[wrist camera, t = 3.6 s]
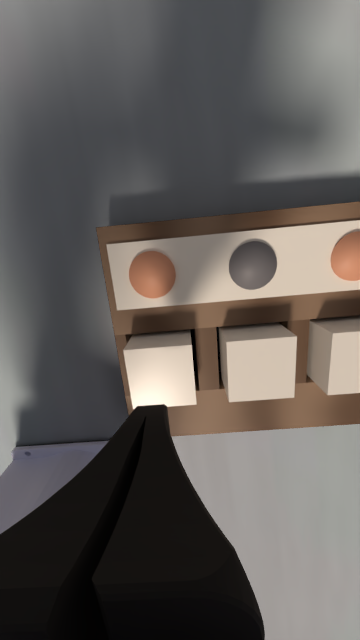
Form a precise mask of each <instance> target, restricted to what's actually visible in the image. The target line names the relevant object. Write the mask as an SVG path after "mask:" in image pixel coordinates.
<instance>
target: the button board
mask: <svg viewBox="0 0 360 640" xmlns="http://www.w3.org/2000/svg"><path fill="white" fill-rule="evenodd" d="M356 220H360V202H350V203H340V204H330V205H320V206H309V207H299V208H289V209H279V210H269V211H259V212H249V213H239V214H228V215H218V216H208V217H198V218H188V219H178V220H168V221H157V222H147V223H137V224H127V225H117V226H107V227H97V228H96V231H97V236H98V242H99V248H100V254H101V259H102V265H103V271H104V277H105V283H106V288H107V294H108V300H109V306H110V311H111V317H112V323H113V329H114V334H115V340H116V346H117V352H118V357H119V363H120V369H121V375H122V380H123V386H124V392H125V398H126V403H127V409H128V415H130V414H131V413H132V411H133V410H134V409H133V406H132V400H131V394H130V388H129V382H128V376H127V370H126V364H125V358H124V352H123V350H124V348H125V346H126V345H127V343H128V341H129V340H130V338H131V336H132V335H133V334H137V333H149V332H161V331H173V330H186V329H194V335H195V348H196V361H197V373H196V374H194V379H195V391H196V403H197V405H185V406H171V407H167V410H168V418H169V426H170V434H171V436H184V435H199V434H214V433H229V432H244V431H259V430H273V429H288V428H303V427H318V426H333V425H348V424H360V393H352V394H338V395H327V394H326V393H325V392H324V391H323V390H322V389H321V388H320V387H319V386H318V385H317V384H316V383H315V382H314V381H313V380H312V379H311V378H310V377H309V376H308V375H307V359H308V342H309V325H310V319H319V318H331V317H343V316H355V315H360V290H349V291H337V292H326V293H314V294H303V295H291V296H279V297H268V298H256V299H245V300H233V301H221V302H210V303H198V304H187V305H175V306H163V307H152V308H140V309H129V310H117V306H116V300H115V294H114V288H113V282H112V276H111V270H110V264H109V258H108V252H107V246H106V244H117V243H127V242H138V241H148V240H158V239H169V238H179V237H190V236H200V235H210V234H221V233H231V232H242V231H252V230H263V229H273V228H283V227H294V226H304V225H315V224H325V223H335V222H346V221H356ZM270 322H278V323H280V324H281V325H282V326H284V327H285V328H286V329H288V330H289V331H291V332H292V333H293V334H295V335H296V336H297V348H296V371H295V393H294V398H282V399H268V400H254V401H240V402H229V401H228V398H227V395H226V391H225V388H224V385H223V381H222V378H221V372H219V370H218V351H217V331H216V327H222V326H234V325H246V324H258V323H270Z"/></svg>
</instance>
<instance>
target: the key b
mask: <svg viewBox="0 0 360 640" xmlns="http://www.w3.org/2000/svg"><path fill="white" fill-rule="evenodd" d="M219 339H220V359H221V378H222V381H223V385H224V388H225V391H226V395H227V398H228V401H229V402H240V401H254V400H268V399H282V398H294V393H295V371H296V348H297V336H296V335H295V334H293V333H292V332H291V331H289V330H288V329H286V328H285V327H284V326H282V325H281V324H280V323H278V322H270V323H258V324H246V325H234V326H222V327H219Z"/></svg>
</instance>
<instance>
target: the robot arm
mask: <svg viewBox="0 0 360 640" xmlns="http://www.w3.org/2000/svg"><path fill="white" fill-rule="evenodd" d="M11 455H12V458H13V461H12V463H11V464H10V465H9V466H8V467H7V469H6V470H5V471H4V472H3V474H2V475H1V476H0V640H264V637H265V632H264V625H263V620H262V616H261V613H260V609H259V606H258V603H257V600H256V598H255V595H254V592H253V590H252V587H251V585H250V582H249V580H248V578H247V575H246V573H245V571H244V569H243V566H242V564H241V562H240V560H239V558H238V556H237V553H236V551H235V549H234V547H233V546H232V545H231V543H230V542H229V541H228V539H227V538H226V537H225V535H224V534H223V532H222V531H221V530H220V528H219V527H218V526H217V524H216V523H215V521H214V520H213V518H212V517H211V515H210V514H209V512H208V511H207V509H206V508H205V506H204V504H203V503H202V501H201V499H200V498H199V496H198V494H197V492H196V491H195V489H194V487H193V486H192V484H191V482H190V480H189V478H188V476H187V474H186V472H185V470H184V468H183V466H182V464H181V461H180V459H179V457H178V454H177V452H176V449H175V446H174V443H173V441H172V437H171V434H170V426H169V418H168V410H167V406H166V405H165V404H159V405H145V406H137V407H136V408H135V409H134V410H133V411H132V413H131V414H130V415H129V417H128V418H127V419H126V421H125V422H124V423H123V424H122V426H121V427H120V428H119V429H118V431H117V432H116V433H115V434H114V436H113V437H112V438H111V439H110V440H109V441H98V442H83V443H68V444H53V445H38V446H23V447H15V448H14V449H13V450H12V452H11Z"/></svg>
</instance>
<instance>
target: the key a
mask: <svg viewBox="0 0 360 640" xmlns="http://www.w3.org/2000/svg"><path fill="white" fill-rule="evenodd" d="M123 352H124V358H125V364H126V370H127V376H128V382H129V388H130V394H131V400H132V406H133V409H135V408H136V407H137V406H145V405H159V404H165V405H166V406H167V407H171V406H185V405H197V403H196V391H195V379H194V367H193V355H192V343H191V333H190V329H186V330H173V331H161V332H149V333H137V334H133V335H132V336H131V338H130V340H129V341H128V343H127V345H126V346H125V348H124V350H123Z"/></svg>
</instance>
